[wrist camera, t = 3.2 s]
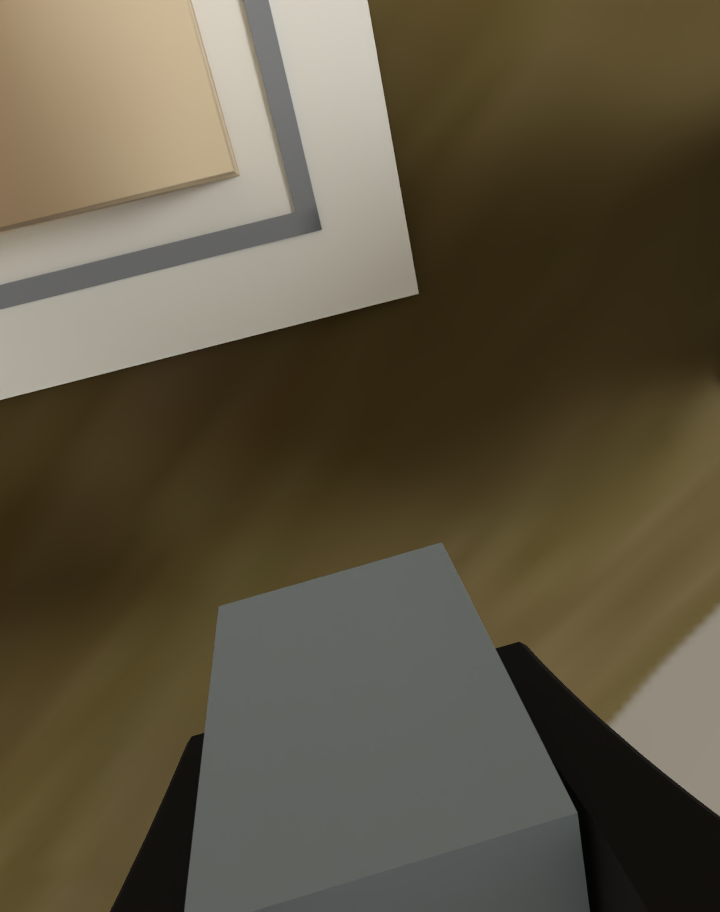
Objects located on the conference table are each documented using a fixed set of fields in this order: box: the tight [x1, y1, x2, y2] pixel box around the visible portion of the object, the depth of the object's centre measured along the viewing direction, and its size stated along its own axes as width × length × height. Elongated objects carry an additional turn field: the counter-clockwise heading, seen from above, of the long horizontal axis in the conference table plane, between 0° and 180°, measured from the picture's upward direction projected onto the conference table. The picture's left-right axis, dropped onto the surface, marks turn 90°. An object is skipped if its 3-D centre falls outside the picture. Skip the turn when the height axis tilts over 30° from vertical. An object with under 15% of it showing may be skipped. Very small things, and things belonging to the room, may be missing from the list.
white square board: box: [0, 0, 419, 400], centre depth 12 cm, size 14×14×1 cm
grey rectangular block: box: [184, 543, 590, 912], centre depth 9 cm, size 4×4×5 cm
